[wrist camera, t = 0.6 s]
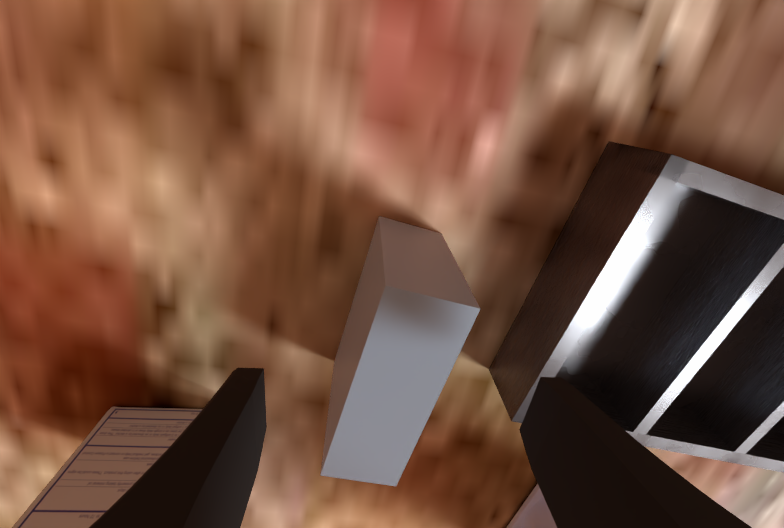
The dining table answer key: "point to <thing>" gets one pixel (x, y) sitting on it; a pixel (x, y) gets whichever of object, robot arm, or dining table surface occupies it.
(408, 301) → the panel
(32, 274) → the dining table surface
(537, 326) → the rack
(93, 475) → the medicine box
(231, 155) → the dining table surface
